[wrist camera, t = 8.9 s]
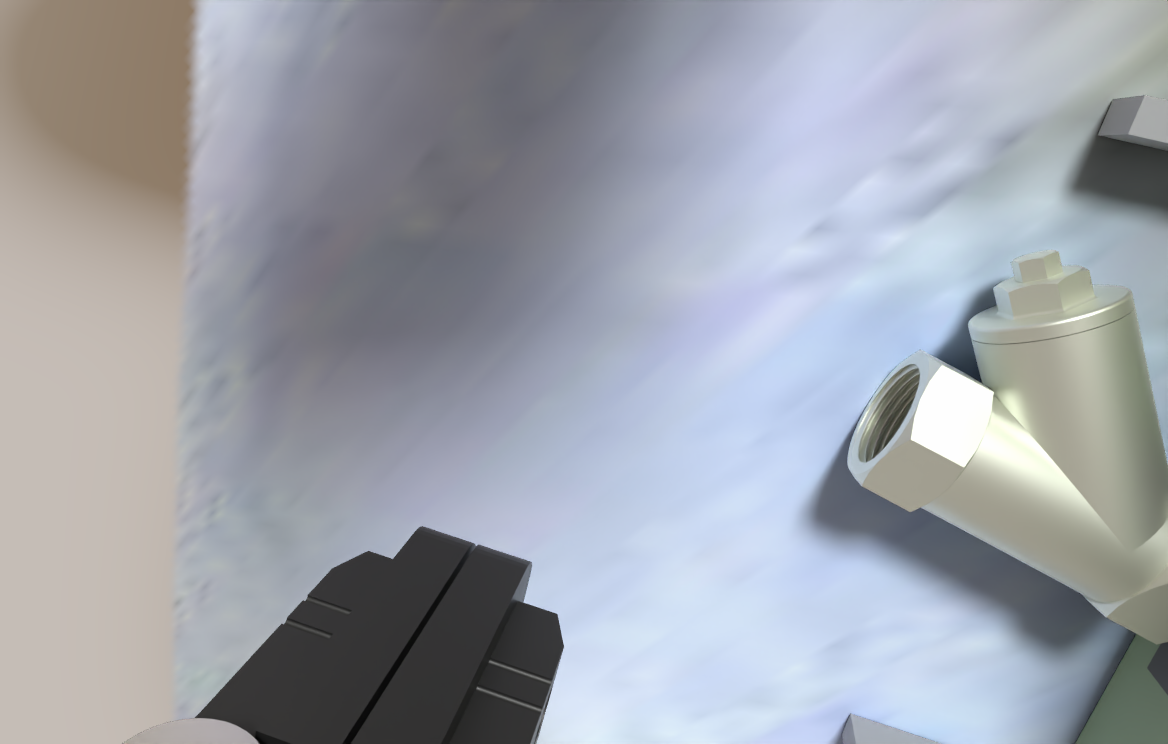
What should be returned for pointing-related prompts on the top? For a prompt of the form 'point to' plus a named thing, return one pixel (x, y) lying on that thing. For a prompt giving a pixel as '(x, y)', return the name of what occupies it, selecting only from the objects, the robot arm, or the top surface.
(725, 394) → the top surface
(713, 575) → the top surface
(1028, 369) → the pipe fitting
